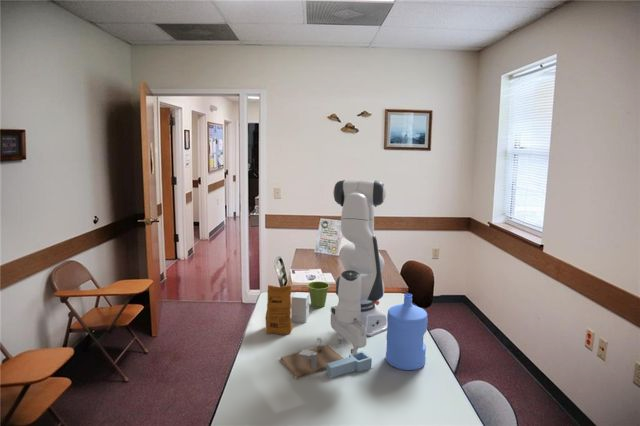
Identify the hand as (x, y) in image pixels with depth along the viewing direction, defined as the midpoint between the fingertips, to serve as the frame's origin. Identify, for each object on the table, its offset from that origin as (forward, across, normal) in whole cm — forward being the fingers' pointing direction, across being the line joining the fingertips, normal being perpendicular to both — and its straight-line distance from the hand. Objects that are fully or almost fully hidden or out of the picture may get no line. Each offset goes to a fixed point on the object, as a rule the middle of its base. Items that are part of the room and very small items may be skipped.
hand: (347, 348), depth 165 cm
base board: (+10, +12, +8) cm, 17 cm away
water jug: (+8, -5, -25) cm, 27 cm away
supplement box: (+9, +50, -5) cm, 51 cm away
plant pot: (+9, +61, -21) cm, 65 cm away
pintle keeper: (+8, +11, +9) cm, 16 cm away
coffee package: (+10, +44, +9) cm, 46 cm away
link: (+9, 0, -1) cm, 9 cm away
